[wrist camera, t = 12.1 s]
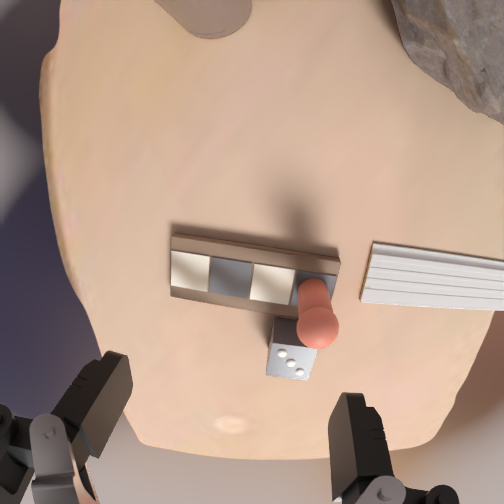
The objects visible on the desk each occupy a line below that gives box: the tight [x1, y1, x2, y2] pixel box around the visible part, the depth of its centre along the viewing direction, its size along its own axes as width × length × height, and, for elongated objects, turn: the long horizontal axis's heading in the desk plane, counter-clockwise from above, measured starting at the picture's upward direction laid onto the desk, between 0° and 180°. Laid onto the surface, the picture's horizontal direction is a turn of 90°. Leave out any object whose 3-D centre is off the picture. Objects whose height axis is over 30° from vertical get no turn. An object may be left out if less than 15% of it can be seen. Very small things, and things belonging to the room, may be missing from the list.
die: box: [266, 317, 318, 380], centre depth 42 cm, size 6×6×6 cm
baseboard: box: [359, 243, 504, 311], centre depth 38 cm, size 30×3×10 cm
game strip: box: [171, 233, 341, 318], centre depth 41 cm, size 9×22×2 cm, turn 83°
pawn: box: [297, 278, 339, 349], centre depth 35 cm, size 5×5×11 cm
